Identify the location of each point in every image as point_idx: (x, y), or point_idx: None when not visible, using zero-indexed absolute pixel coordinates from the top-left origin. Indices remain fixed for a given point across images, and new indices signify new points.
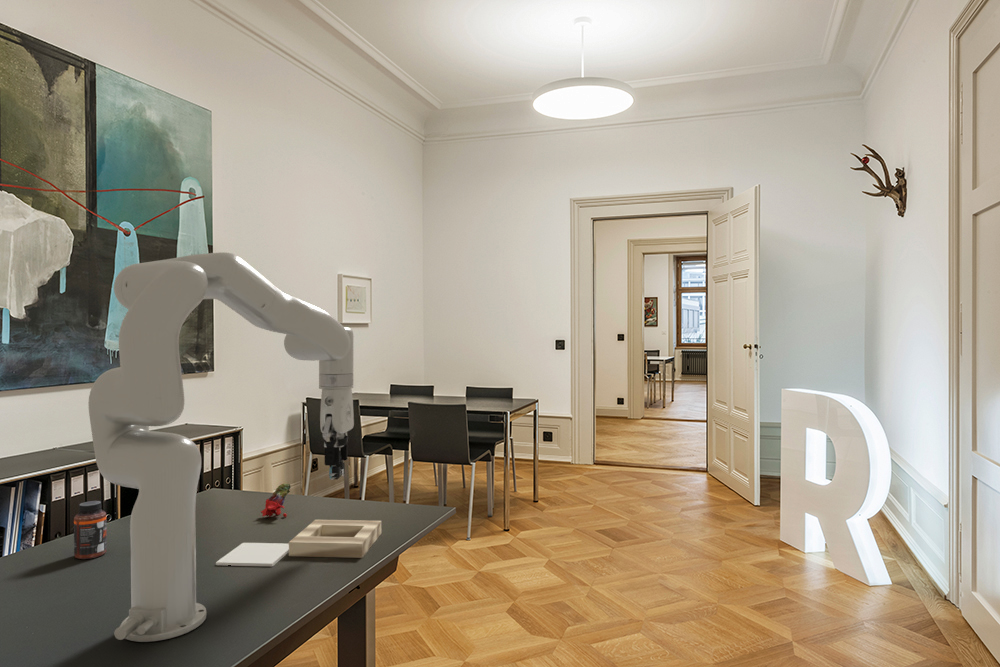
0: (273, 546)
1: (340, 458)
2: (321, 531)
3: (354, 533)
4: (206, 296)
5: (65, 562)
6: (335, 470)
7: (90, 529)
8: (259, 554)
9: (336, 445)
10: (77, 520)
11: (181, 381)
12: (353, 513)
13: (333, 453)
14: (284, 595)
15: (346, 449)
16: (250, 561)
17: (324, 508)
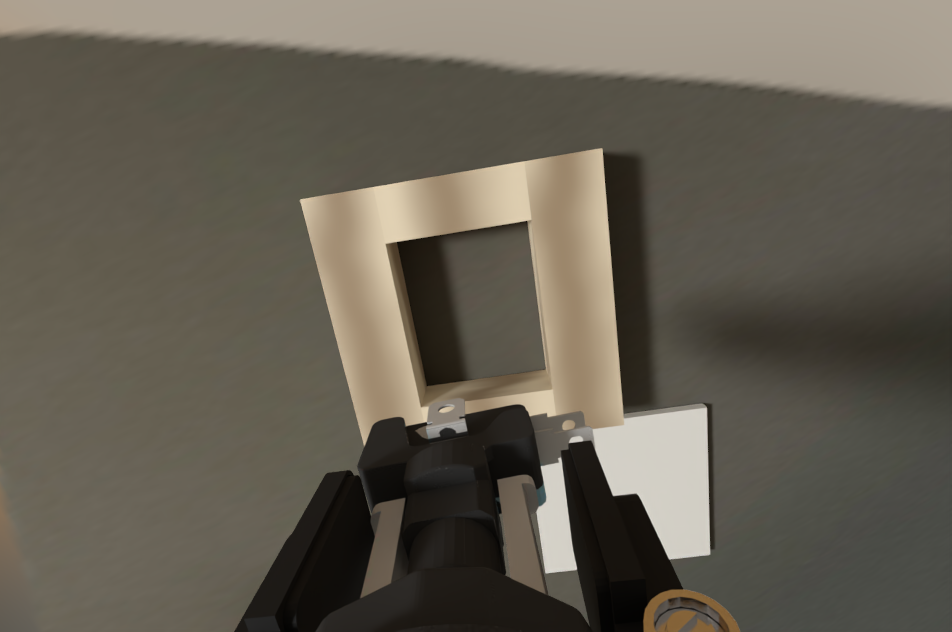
0: (561, 479)
1: (452, 500)
2: (428, 396)
3: (400, 277)
4: None
5: None
6: (537, 449)
7: None
8: (635, 481)
9: (686, 627)
10: None
11: None
12: (142, 405)
13: (667, 559)
14: (928, 250)
15: (311, 545)
16: (694, 474)
17: (135, 523)
